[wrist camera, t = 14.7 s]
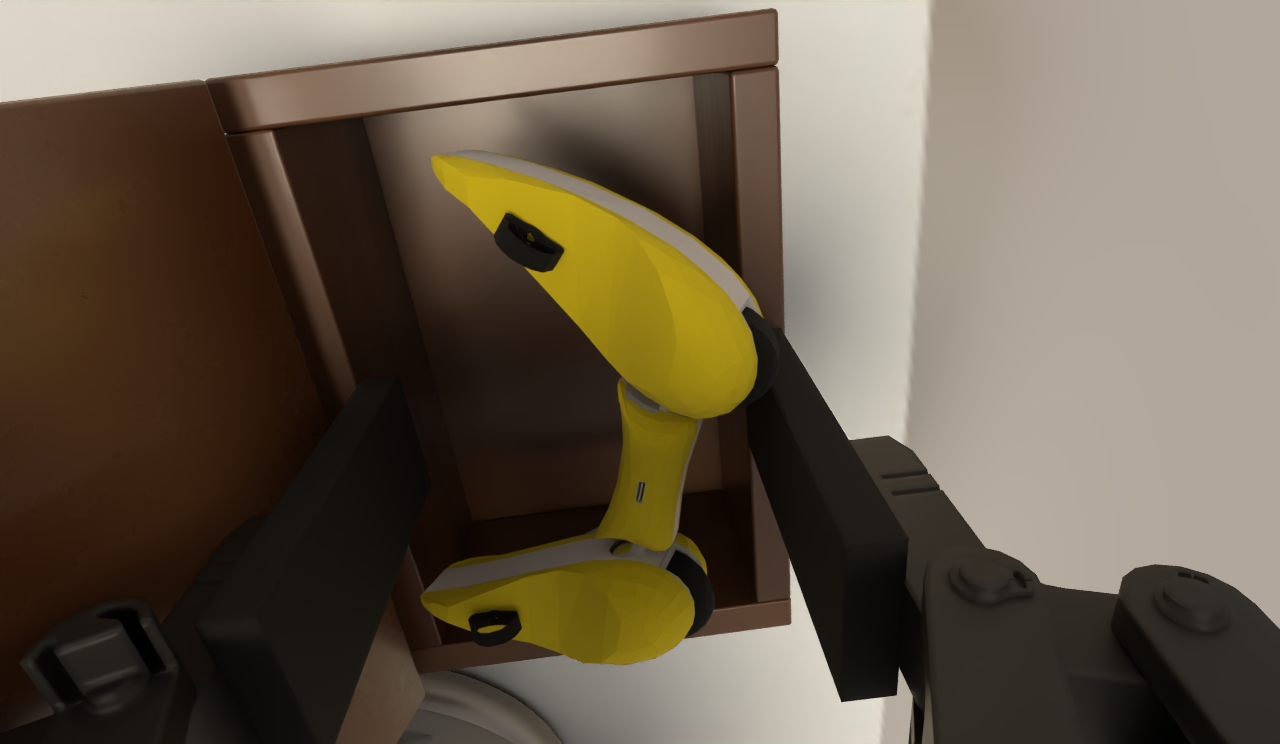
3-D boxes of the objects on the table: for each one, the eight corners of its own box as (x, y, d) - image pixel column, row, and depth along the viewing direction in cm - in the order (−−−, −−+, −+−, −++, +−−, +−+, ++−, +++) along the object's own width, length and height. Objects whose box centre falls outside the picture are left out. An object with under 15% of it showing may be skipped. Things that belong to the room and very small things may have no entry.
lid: (-2846, 434, 2) (-2752, 424, 2) (-33, 1469, 8) (-84, 1436, 8) (207, 78, 11) (163, 84, 11) (428, 694, 17) (396, 689, 18)
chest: (720, 16, 17) (779, 6, 12) (745, 491, 23) (792, 625, 18) (322, 66, 17) (200, 80, 12) (455, 529, 23) (416, 675, 18)
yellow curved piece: (715, 624, 16) (673, 748, 13) (480, 536, 18) (394, 629, 15) (828, 209, 12) (803, 251, 9) (507, 138, 14) (394, 155, 11)
